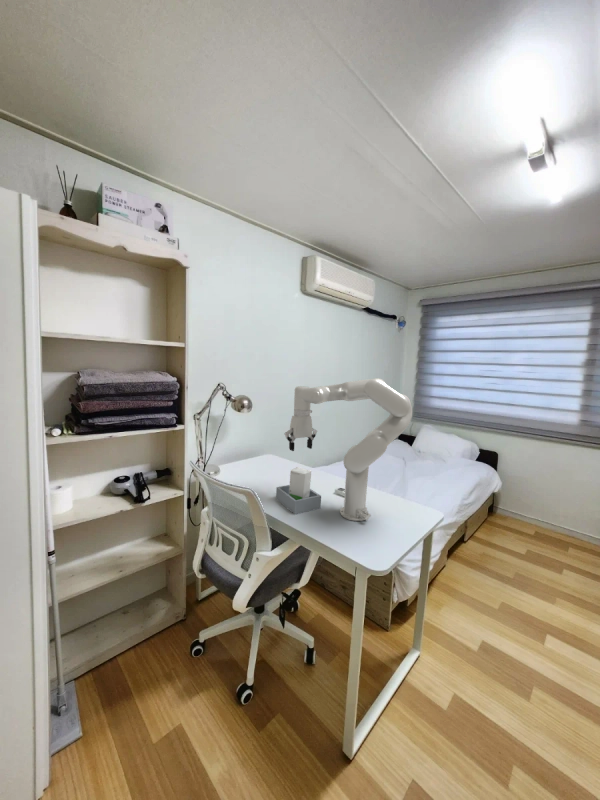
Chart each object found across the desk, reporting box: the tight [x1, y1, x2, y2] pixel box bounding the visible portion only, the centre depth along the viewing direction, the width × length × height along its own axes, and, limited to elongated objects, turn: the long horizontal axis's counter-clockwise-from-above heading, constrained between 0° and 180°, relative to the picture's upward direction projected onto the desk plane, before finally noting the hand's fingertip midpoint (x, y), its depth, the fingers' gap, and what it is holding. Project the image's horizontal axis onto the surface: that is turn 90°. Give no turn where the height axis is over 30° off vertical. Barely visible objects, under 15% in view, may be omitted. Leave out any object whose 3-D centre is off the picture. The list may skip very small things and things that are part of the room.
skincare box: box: [289, 466, 312, 500], centre depth 145 cm, size 8×7×16 cm
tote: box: [275, 484, 322, 515], centre depth 146 cm, size 18×14×6 cm
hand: (300, 449), depth 144 cm, fingers open, 9 cm apart
